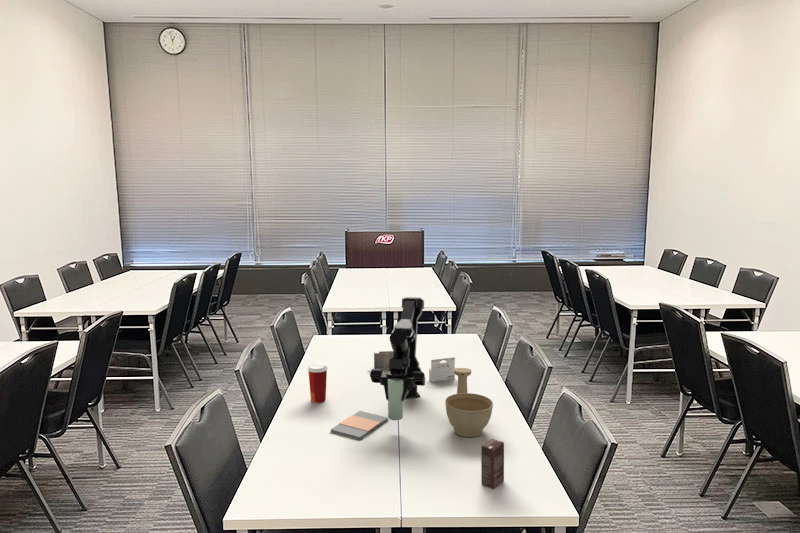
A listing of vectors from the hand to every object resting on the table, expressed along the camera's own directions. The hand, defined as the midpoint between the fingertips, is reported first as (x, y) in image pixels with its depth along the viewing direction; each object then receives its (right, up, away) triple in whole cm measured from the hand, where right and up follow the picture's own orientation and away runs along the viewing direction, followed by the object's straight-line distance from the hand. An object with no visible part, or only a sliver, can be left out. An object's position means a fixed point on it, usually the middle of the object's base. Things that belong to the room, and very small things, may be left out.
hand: (394, 400), depth 199 cm
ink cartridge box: (+20, -3, +53) cm, 56 cm away
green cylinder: (0, -6, +2) cm, 7 cm away
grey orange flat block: (-12, -10, +7) cm, 18 cm away
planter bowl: (+25, -11, +3) cm, 28 cm away
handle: (+25, -8, +22) cm, 35 cm away
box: (+28, -17, -30) cm, 45 cm away
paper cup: (-30, -7, +30) cm, 43 cm away
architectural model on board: (-4, -1, +68) cm, 68 cm away
